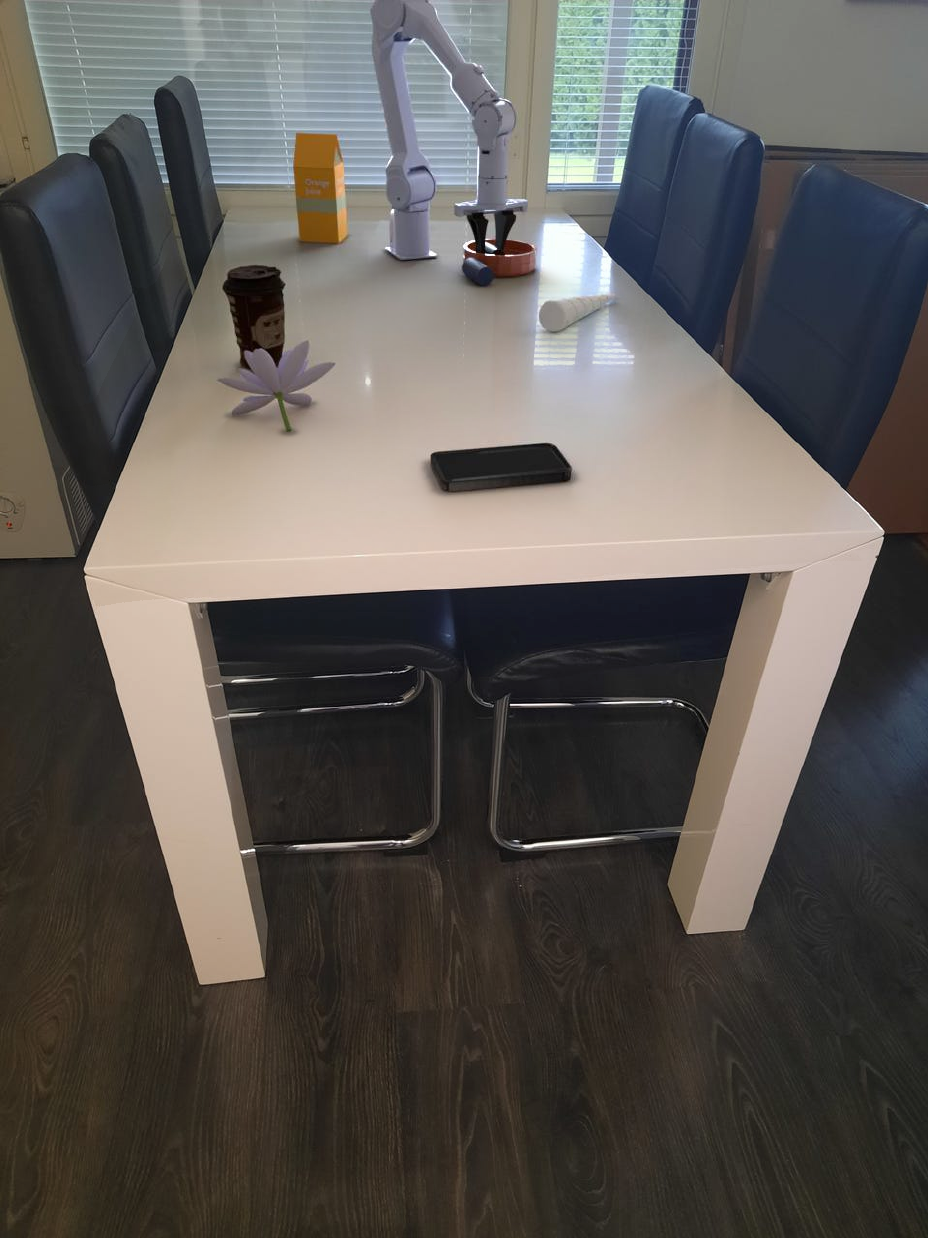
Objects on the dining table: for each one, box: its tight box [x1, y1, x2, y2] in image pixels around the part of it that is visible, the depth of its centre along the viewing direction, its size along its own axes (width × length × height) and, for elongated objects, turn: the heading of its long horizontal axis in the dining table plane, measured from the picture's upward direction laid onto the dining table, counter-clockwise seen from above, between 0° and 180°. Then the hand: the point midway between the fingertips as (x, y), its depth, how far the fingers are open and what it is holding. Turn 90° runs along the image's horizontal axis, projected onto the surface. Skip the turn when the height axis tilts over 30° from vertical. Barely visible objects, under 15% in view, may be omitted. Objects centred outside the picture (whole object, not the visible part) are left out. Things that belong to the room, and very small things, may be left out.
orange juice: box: [292, 132, 348, 244], centre depth 181 cm, size 8×9×20 cm
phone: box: [429, 442, 573, 492], centre depth 97 cm, size 8×1×15 cm
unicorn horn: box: [538, 293, 616, 333], centre depth 144 cm, size 5×24×5 cm, turn 142°
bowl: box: [462, 238, 538, 278], centre depth 168 cm, size 14×14×4 cm
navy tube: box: [461, 258, 495, 287], centre depth 160 cm, size 7×3×3 cm
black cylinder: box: [475, 242, 505, 255], centre depth 167 cm, size 7×3×3 cm, turn 24°
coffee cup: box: [221, 264, 287, 372], centre depth 119 cm, size 9×8×13 cm
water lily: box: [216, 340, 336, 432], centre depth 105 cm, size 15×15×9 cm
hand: (489, 253), depth 167 cm, fingers closed on black cylinder, 3 cm apart
